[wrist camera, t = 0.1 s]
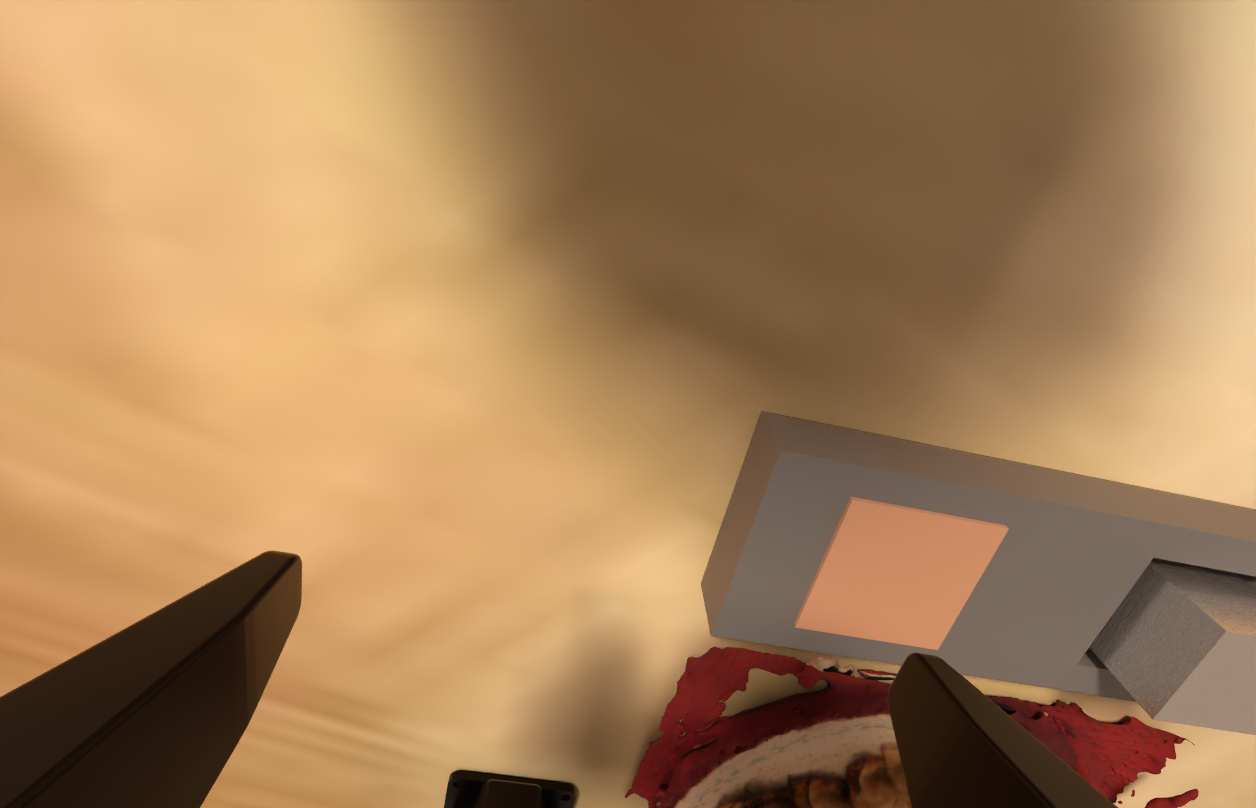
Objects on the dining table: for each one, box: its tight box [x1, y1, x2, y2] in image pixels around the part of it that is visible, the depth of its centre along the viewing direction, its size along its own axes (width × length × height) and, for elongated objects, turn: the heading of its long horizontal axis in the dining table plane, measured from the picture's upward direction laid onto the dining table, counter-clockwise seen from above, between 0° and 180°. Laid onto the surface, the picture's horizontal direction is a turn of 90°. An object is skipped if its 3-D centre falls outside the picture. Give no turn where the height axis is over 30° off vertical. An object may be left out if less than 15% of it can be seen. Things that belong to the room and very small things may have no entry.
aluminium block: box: [1089, 558, 1256, 735], centre depth 25 cm, size 4×4×6 cm
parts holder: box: [701, 411, 1256, 701], centre depth 26 cm, size 8×24×3 cm, turn 77°
